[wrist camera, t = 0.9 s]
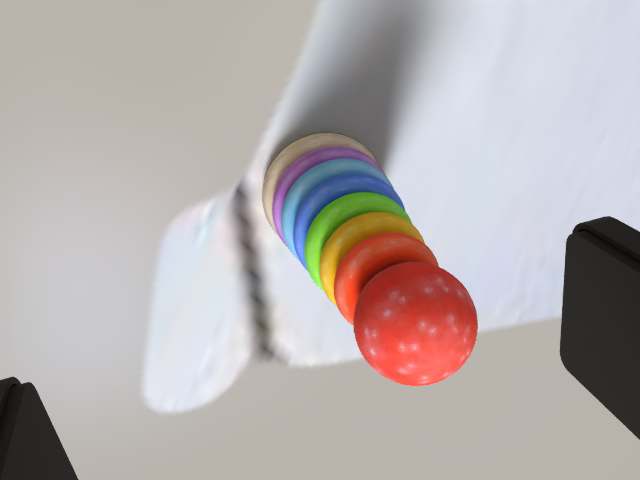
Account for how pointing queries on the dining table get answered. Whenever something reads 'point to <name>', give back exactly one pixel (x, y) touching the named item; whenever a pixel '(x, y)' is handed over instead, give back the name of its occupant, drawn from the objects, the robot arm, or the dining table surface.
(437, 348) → the stacking toy
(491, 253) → the dining table surface
